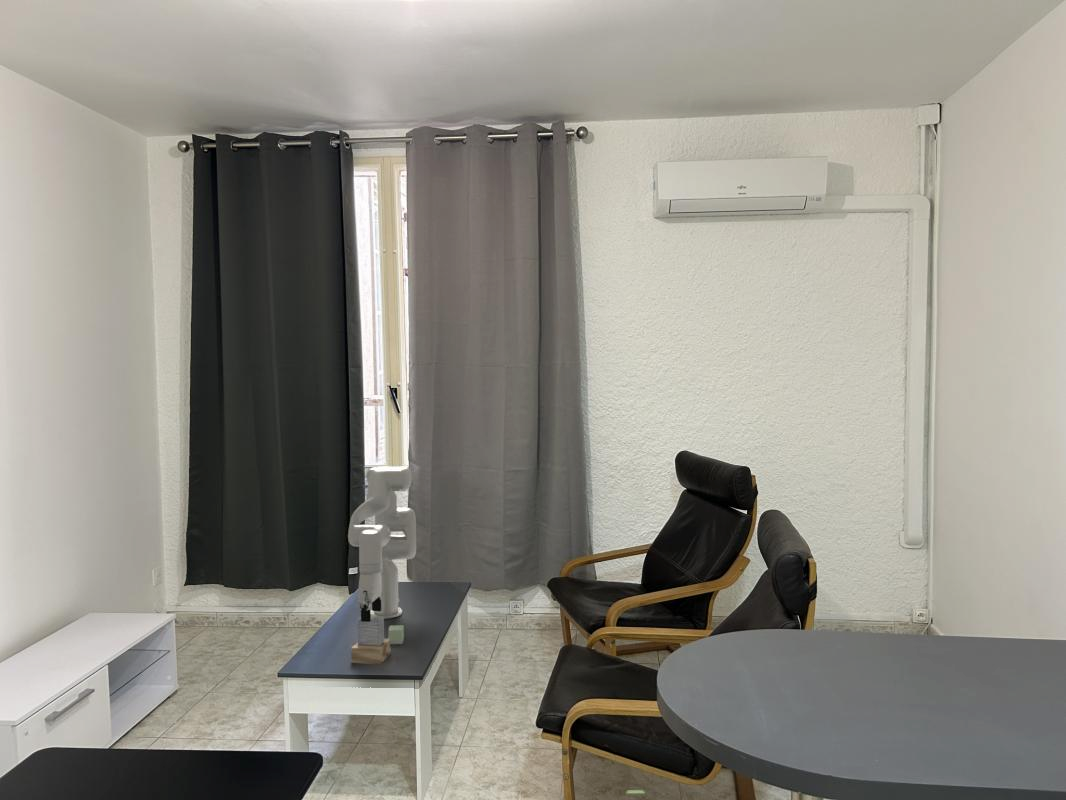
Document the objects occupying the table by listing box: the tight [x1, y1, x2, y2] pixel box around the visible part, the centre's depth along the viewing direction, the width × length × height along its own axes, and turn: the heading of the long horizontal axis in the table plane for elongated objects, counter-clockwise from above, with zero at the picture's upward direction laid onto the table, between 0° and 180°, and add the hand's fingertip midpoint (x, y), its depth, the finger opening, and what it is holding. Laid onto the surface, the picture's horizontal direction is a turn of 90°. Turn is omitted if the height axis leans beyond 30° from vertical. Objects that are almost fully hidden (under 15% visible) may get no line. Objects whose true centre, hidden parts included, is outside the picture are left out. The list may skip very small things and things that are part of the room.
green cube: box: [387, 624, 405, 645], centre depth 269 cm, size 5×5×5 cm
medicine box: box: [357, 616, 385, 646], centre depth 253 cm, size 8×4×9 cm, turn 80°
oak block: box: [350, 638, 392, 666], centre depth 254 cm, size 10×10×5 cm
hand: (371, 616), depth 254 cm, fingers open, 9 cm apart
